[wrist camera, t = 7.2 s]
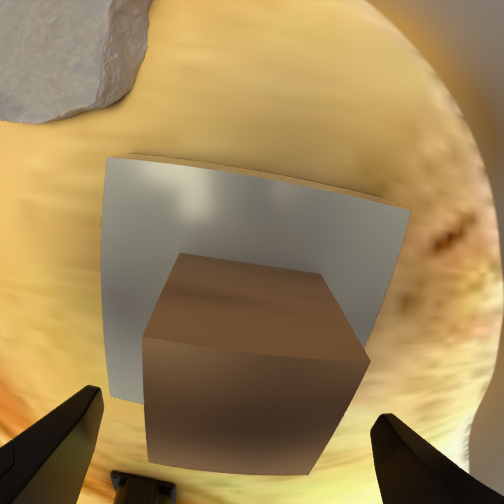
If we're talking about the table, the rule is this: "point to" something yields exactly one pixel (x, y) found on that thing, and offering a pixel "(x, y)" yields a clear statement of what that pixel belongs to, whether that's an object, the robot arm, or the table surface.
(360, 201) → the tile
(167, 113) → the table surface
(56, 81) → the stone block
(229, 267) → the cube
